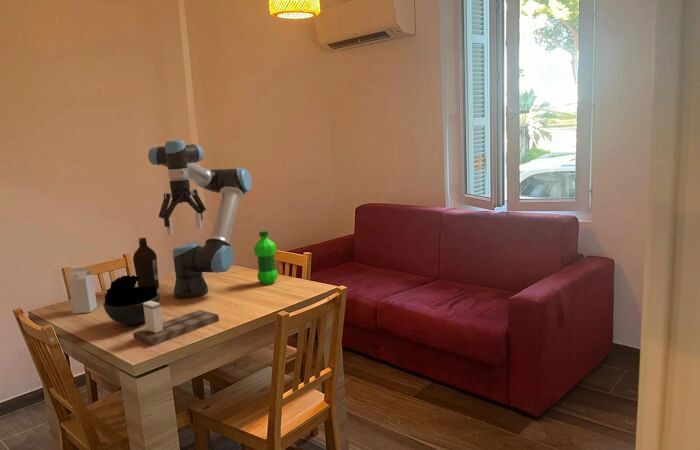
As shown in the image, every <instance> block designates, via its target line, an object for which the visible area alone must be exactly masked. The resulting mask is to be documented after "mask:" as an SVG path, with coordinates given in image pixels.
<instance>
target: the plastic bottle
mask: <svg viewBox="0 0 700 450" xmlns="http://www.w3.org/2000/svg"><path fill="white" fill-rule="evenodd" d="M268 236H269V230H262V231H261V230H259V237H260V239H259V240H258V242H256V243H255V244H254V248H253V250H254V251H253V252H254V255H256V256H257V264H258V273H257V279H258V281H259V282H260V283H262V284H263V285H272V284H274V282H275V281H276V280H277V279H278V276H279V275H278V274H279V273H278V270H277V268H276V264H275V263H276V261H275V254H276V253H277V251H276V250H277V246H276V243H275V242H273V240H271V239H269V238H268Z"/></svg>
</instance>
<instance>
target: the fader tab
mask: <svg viewBox="0 0 700 450" xmlns="http://www.w3.org/2000/svg"><path fill="white" fill-rule="evenodd" d="M160 304H161V303H160V302H158V303H157V302H154V301H148V302H144V303H143V308H144V315H145V321H144V322H145V328H146V330H149V331H152V332H154V333H157V332H159V331H162V330H163V325H162V323H163V318H162V310H161V305H160Z"/></svg>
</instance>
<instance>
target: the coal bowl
mask: <svg viewBox="0 0 700 450" xmlns="http://www.w3.org/2000/svg"><path fill="white" fill-rule="evenodd" d="M138 279H139V277H136V275H131V276H130V274H126V275H122V276H120V277H118V278H116V279H115V280H113V281H112V282H111V283H110V287H109V288H108V289H106V292H105V295H104V302H103V309H104V311H105V313H106V314H107V316H108V317H109V318H110V319H111V320H112V321H114V322H115V323H117V324H121V325H124V326H134V325H135V326H136V325H138V324H142V323H144V322H145V315H144V308H143V303H144V302H148V301H154V302H157V303H160V294H159V293H158V290H157V289H158V288H157V289H156V287H155V286H154V285H153V286H151V287H148V286H142V287H138V286H136V285H137V280H138Z"/></svg>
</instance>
